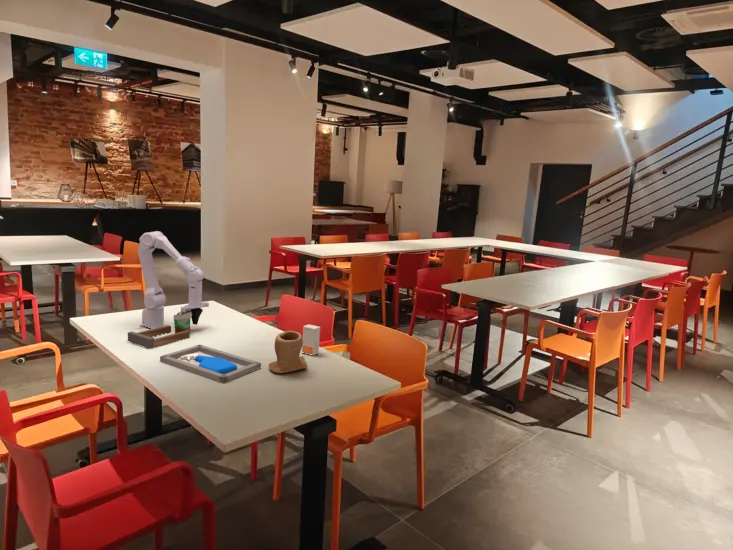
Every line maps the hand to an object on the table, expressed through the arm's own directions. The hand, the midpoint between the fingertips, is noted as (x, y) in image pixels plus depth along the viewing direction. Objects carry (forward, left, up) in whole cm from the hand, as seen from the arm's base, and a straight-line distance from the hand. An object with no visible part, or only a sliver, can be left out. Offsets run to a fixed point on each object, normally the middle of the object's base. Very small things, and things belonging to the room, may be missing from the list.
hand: (195, 324), depth 224 cm
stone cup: (+64, -11, -3) cm, 65 cm away
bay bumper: (0, -28, -3) cm, 28 cm away
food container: (+1, -6, -3) cm, 7 cm away
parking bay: (0, -18, -3) cm, 18 cm away
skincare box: (+59, +9, -3) cm, 60 cm away
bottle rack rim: (+38, -26, -3) cm, 46 cm away
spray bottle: (+37, -27, -4) cm, 46 cm away
